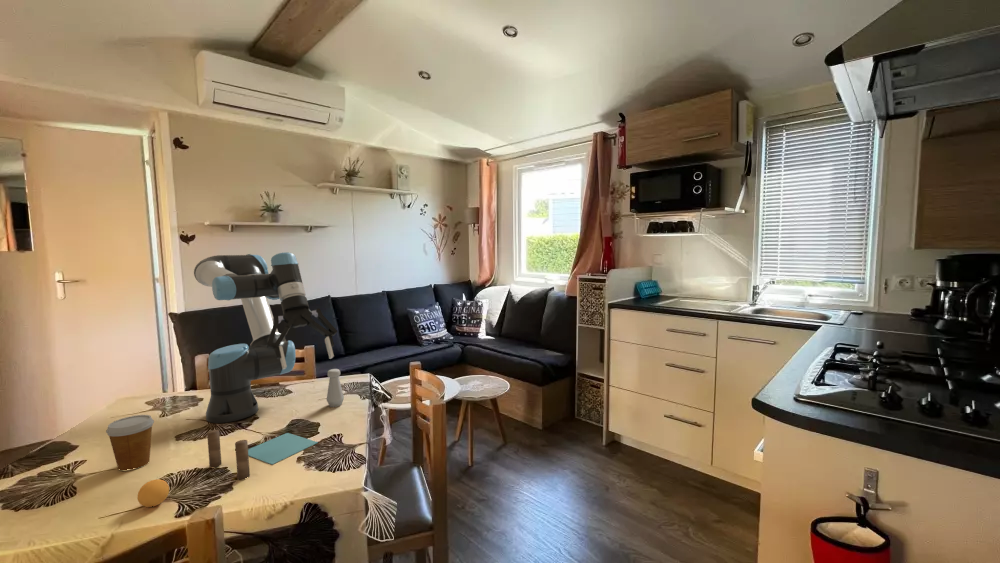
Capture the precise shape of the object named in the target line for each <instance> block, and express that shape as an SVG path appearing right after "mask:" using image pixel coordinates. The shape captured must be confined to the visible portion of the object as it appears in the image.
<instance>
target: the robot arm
mask: <svg viewBox="0 0 1000 563" xmlns="http://www.w3.org/2000/svg"><path fill="white" fill-rule="evenodd" d="M270 259H271V260H270V264H271V265H270V266H271V268H272V270H271V272H270V273H269V270H268V269H269V267H268V264H267V261H266V260H265V258H263V257H262V255H259V254H251V253H249V254H248V253H247V254H226V255H222V254H221V255H219V254H218V255H212V256H208V257H206V258H203V259H202V260H200V261H199V262H198V263H196V265H195V267H194V269H193V276H194V278H195V280H196V281H197V282H198V283H199V284H201V285H202V286H205V287H211V290H212V294H213V297H214V299H215V300H217V301H231V300H241V303H242V306H243V311H244V314H245V317H246V320H247V324H248V327H249V331H250V334H251V337H252V341H251V343H250V345H248V344H247V343H238V344H231V345H227V346H226V345H225V346H222V347H220V348H217V349H215V350H214V351H212V352H211V353H210V354H209V355H208V362H207V364H208V366H207V368H208V374H209V386H210V387H209V388H210V398H209V401H208V404H207V409H206V411H205V419H206V420H205V421H206V422H208V423H212V424H219V423H220V424H222V423H231V422H236V421H241V420H244V419H246V418H249V417H251V416H253V415H255V414H256V413H257V412H258V410H259V402H258V401H257V399H256V397H255V395H254V392H253V391H252V385H251V383H252V381H255V380H261V379H265V378H269V377H271V378H272V377H275V376H281V375H283V374H287V373H290V372H291V371H293V369H294V367H295V363H296V353H297V352H296V347H295V343H294V342H293V341H292V340H289V339H288V340H287V339H286V335H287V334H288V332H289V331H290V329H291V328H294V329H296V328H301V327H303V328H304V327H305V326H308V327H309V328H312V329H313V330H315V331H316V332H317V333H320V335H322V336H323V337H325V338H324V343H325V348H326V351H327V354H328V359H330V360H331V359H333V358H334V357H335V355H334V350H333V348H334V346H335V342H334V338H333V337H334V336H335V335H336V334H337V333H338V330H337V329H336V328H335V326H334V325H332V324H331V322H330V321H329V320H328V319H327V318H326V317H325V315H324V314H323V312H322V310H321V309H320V308H316V309H314V310H311V309H310V306H309V302H308V299H307V298H308V297H307V296H306V291H305V287H304V283H303V280H302V279H303V278H302V276H301V271H300V266H299V262H298V260H297V257H296V255H295V254H294V253H292V252H279V253H276V254H274V255H273V256H271V258H270ZM269 300H272V301H276V300H279V301H280V306H281V310H282V315H278V314H275V315H273V311H272V308H271V306H270V303H269V302H270V301H269ZM312 316H314V317H315V318H316V319H317V320H318V321H319V322H320V323H321V325H320V324H319V323H317V322H316V320H315V319H314V318H312ZM282 321H283V322H285V323H286V326H285V327H284V329H283V330H282V332H281V333H280V332H279V330H278V327H279V324H280V323H281V322H282Z"/></svg>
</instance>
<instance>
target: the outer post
mask: <svg viewBox="0 0 1000 563" xmlns="http://www.w3.org/2000/svg"><path fill="white" fill-rule="evenodd" d="M248 444H249V443H248V440H247V439H239V440H237V441H236V442H235V443H234V447H235V462H236V463H235V464H236V475H237V476H236V477H237V480H238V479H244V480H246V479H245V478H247V477H248V478H250V475H251V474H250V461H249V460H250V459H249V458H250V456H248V449H249V445H248ZM248 478H247V479H248Z"/></svg>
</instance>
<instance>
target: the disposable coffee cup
mask: <svg viewBox="0 0 1000 563" xmlns="http://www.w3.org/2000/svg"><path fill="white" fill-rule="evenodd" d="M154 422H155V420H154V419H153V417H152V415H150V414H140V415H139V414H137V415H131V416H127V417H123V418H120V419H117V420H114V421H112V422H110V423H109V424H108V425H107V429H106V430H105V433H106V434H107V436H108V438H109V440H110V444H111V447H112V452H113V456H114V458H115V462H116V466H117V470H118V469H120V470H127V469H133V468H138V467H140V468H142V467H141V466H143V467H145V466H146V465H148V464H149V463H150V460H151V459H150V458H151V445H152V444H151V442H152V433H153V432H152V430H153V425H154ZM148 462H149V463H148ZM147 463H148V464H147ZM144 465H145V466H144ZM138 469H139V468H138Z"/></svg>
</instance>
